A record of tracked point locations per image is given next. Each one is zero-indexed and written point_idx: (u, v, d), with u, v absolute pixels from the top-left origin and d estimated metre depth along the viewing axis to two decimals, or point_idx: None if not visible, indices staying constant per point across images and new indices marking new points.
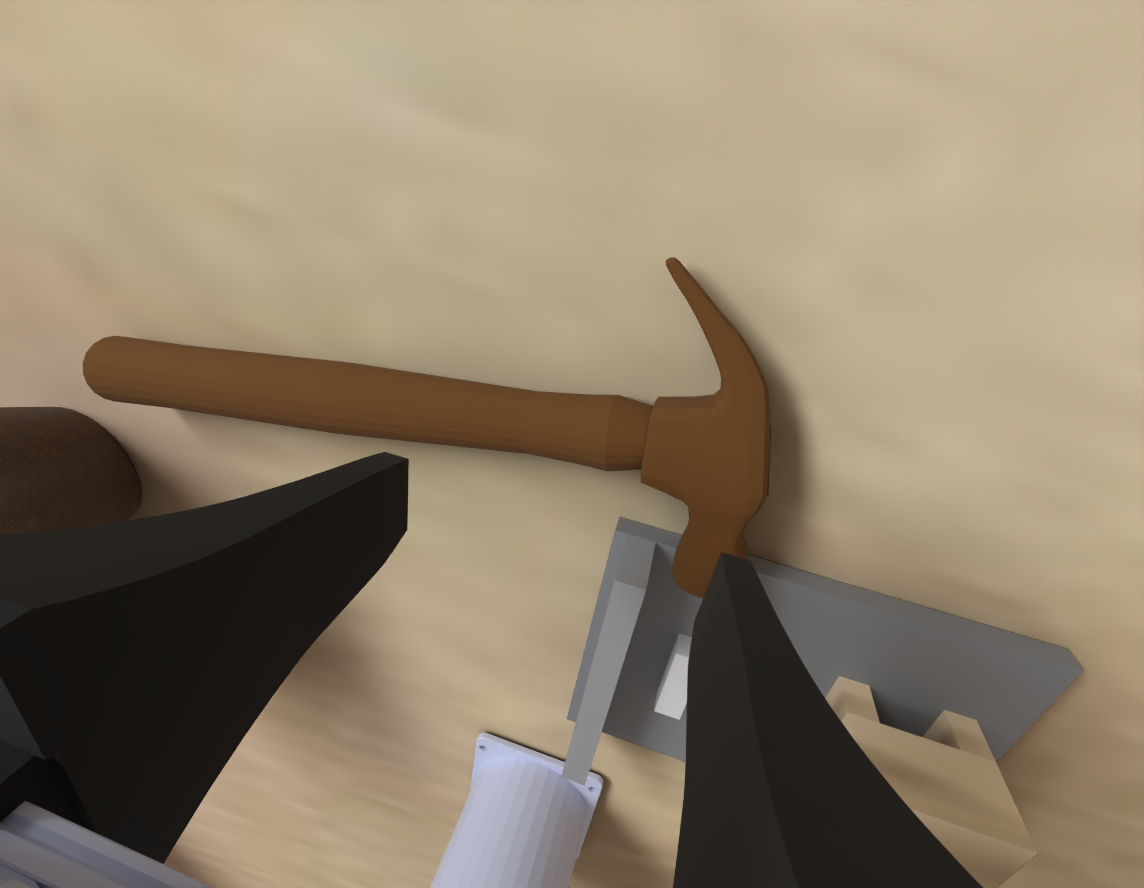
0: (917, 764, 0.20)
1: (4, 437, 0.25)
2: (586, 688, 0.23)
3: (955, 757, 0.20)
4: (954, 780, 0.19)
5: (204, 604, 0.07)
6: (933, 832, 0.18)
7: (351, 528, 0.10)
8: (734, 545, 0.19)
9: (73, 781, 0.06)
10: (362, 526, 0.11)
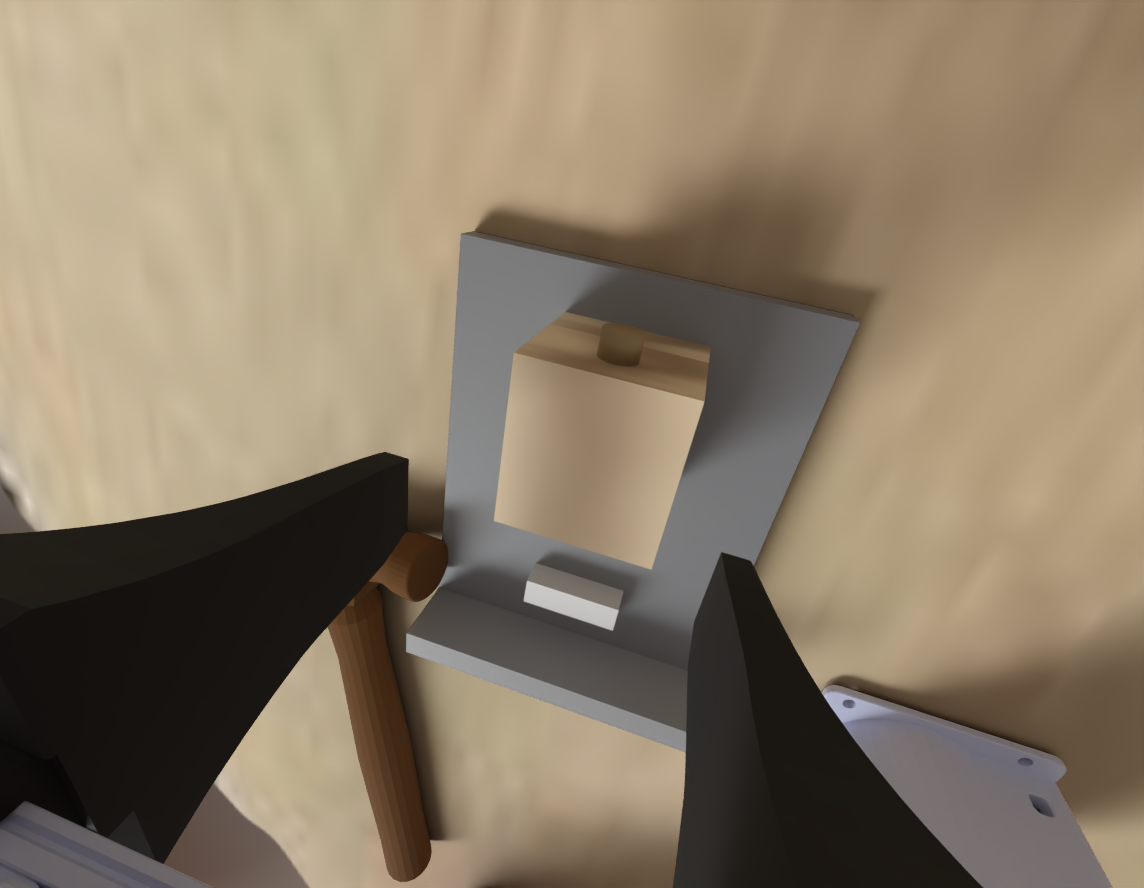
0: None
1: None
2: (538, 698, 0.23)
3: None
4: None
5: (203, 604, 0.07)
6: (526, 456, 0.15)
7: (351, 529, 0.10)
8: None
9: (73, 781, 0.06)
10: (362, 526, 0.11)
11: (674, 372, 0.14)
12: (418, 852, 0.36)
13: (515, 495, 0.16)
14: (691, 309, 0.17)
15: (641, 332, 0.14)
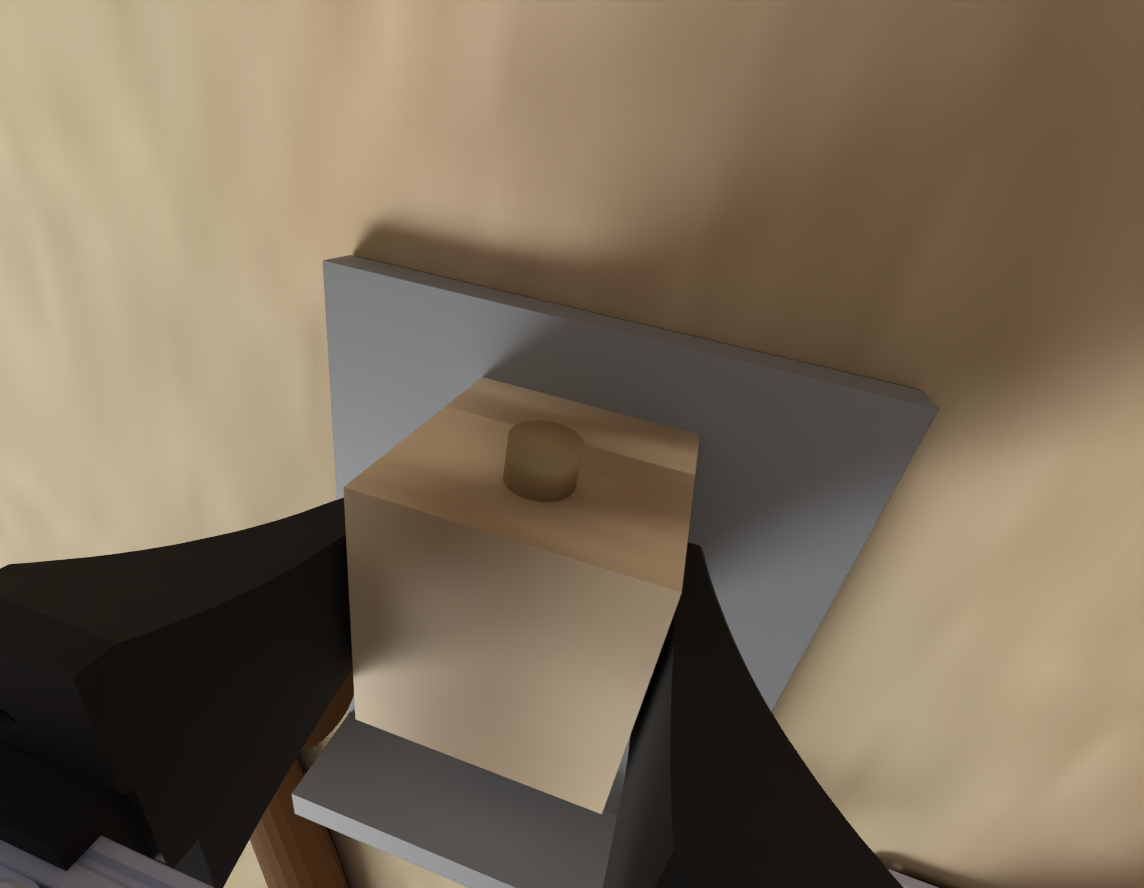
0: None
1: None
2: (468, 886, 0.17)
3: None
4: None
5: (268, 628, 0.07)
6: (389, 641, 0.09)
7: None
8: None
9: (145, 813, 0.06)
10: None
11: (634, 508, 0.08)
12: None
13: (381, 691, 0.10)
14: (669, 380, 0.11)
15: (577, 441, 0.08)
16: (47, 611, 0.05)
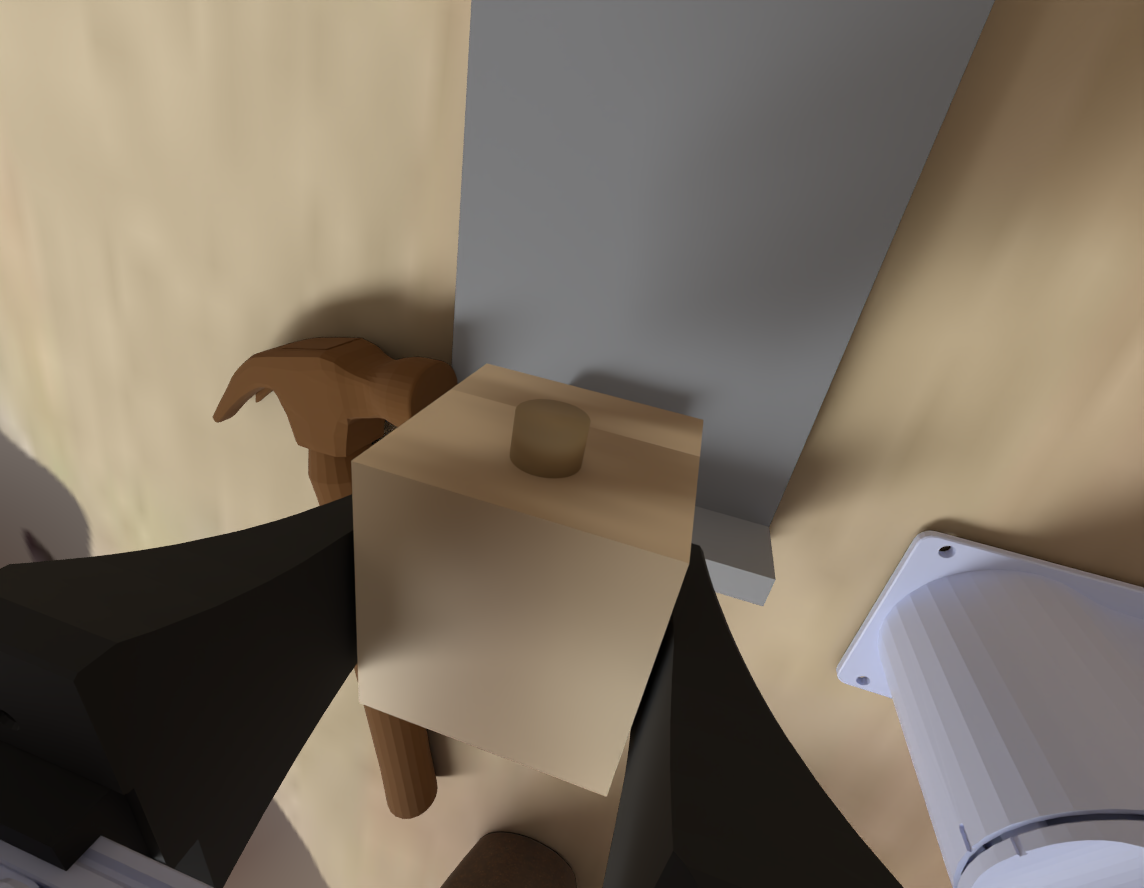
0: None
1: None
2: None
3: None
4: None
5: (267, 627, 0.07)
6: (395, 620, 0.09)
7: None
8: (367, 380, 0.19)
9: (145, 813, 0.06)
10: None
11: (640, 486, 0.08)
12: (423, 784, 0.32)
13: (385, 672, 0.10)
14: None
15: (583, 418, 0.08)
16: (47, 611, 0.05)
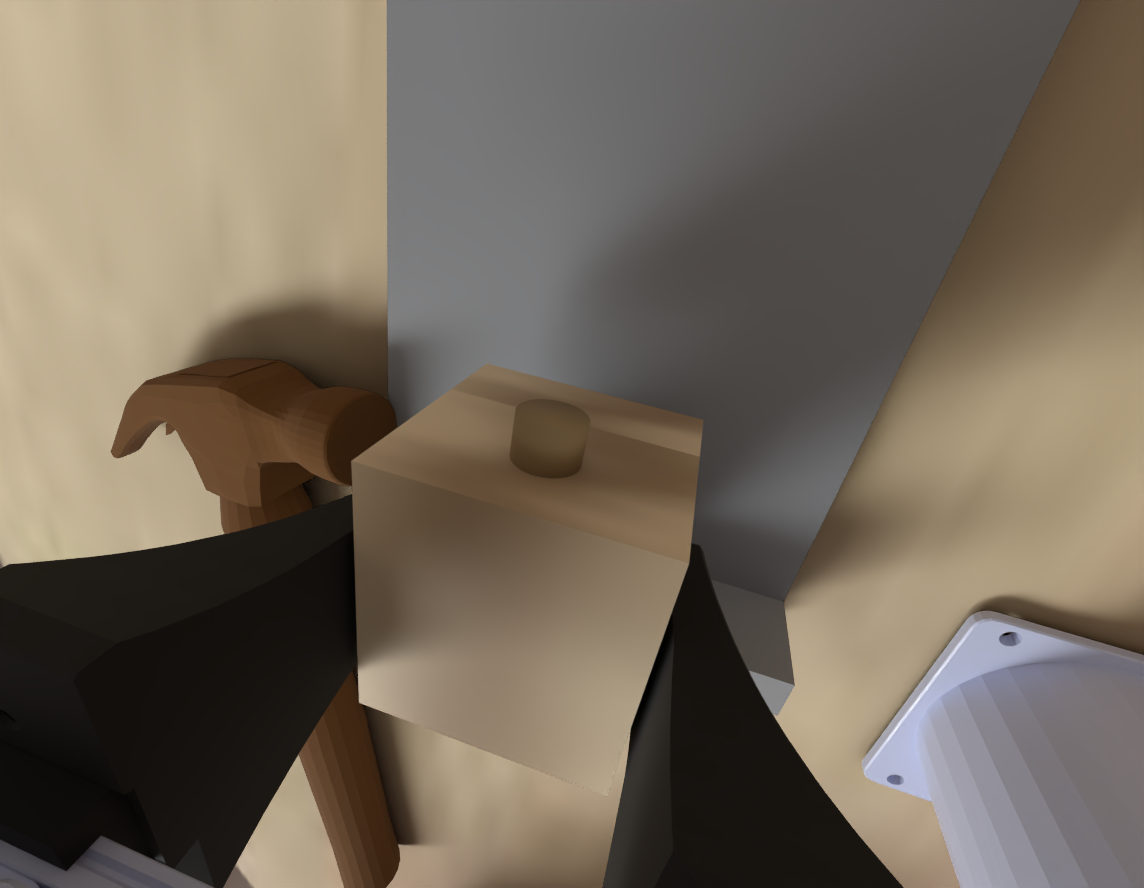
0: None
1: None
2: None
3: None
4: None
5: (268, 627, 0.07)
6: (395, 620, 0.09)
7: None
8: (276, 418, 0.15)
9: (146, 813, 0.06)
10: None
11: (640, 485, 0.08)
12: (381, 860, 0.28)
13: (386, 672, 0.10)
14: None
15: (583, 418, 0.08)
16: (47, 611, 0.05)
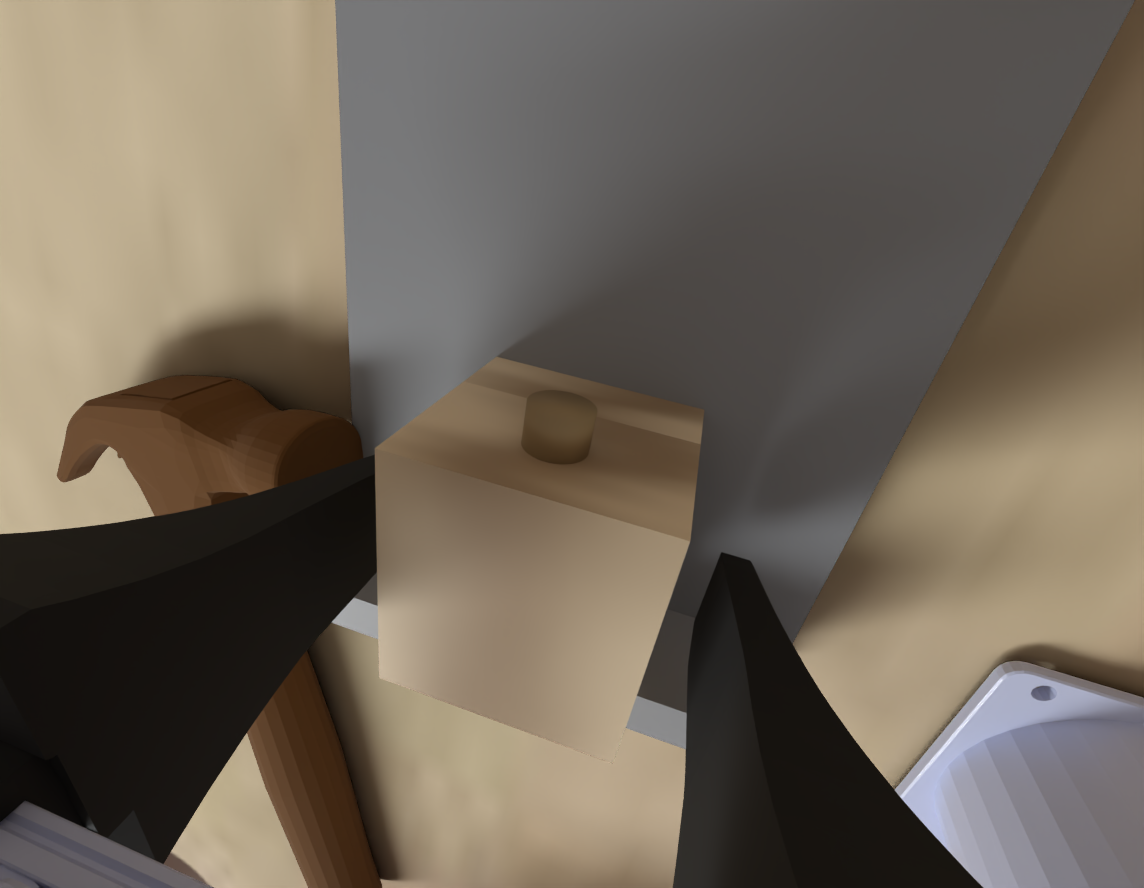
0: None
1: None
2: None
3: None
4: None
5: (204, 603, 0.07)
6: (414, 598, 0.10)
7: (351, 529, 0.10)
8: (224, 445, 0.13)
9: (73, 781, 0.06)
10: (362, 526, 0.11)
11: (644, 471, 0.09)
12: None
13: (405, 648, 0.10)
14: None
15: (590, 408, 0.09)
16: None
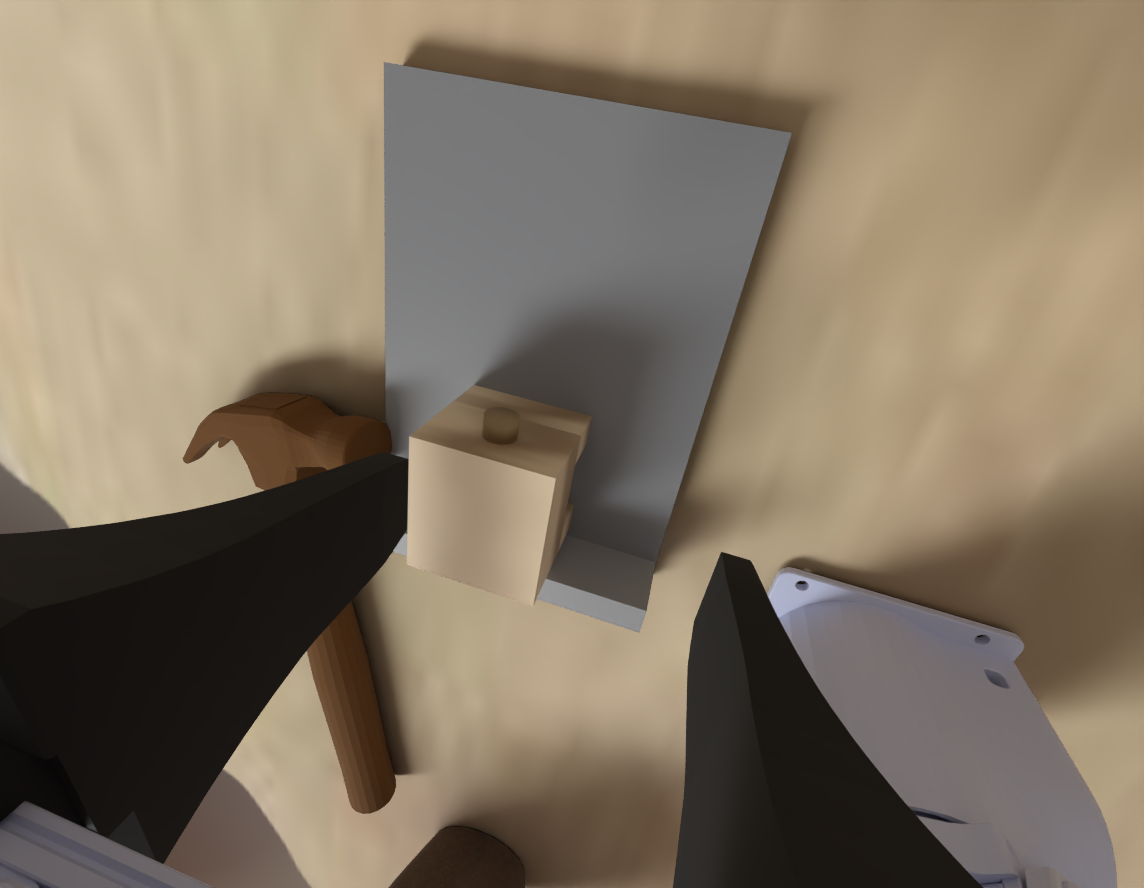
0: None
1: (392, 884, 0.36)
2: None
3: None
4: None
5: (204, 603, 0.07)
6: (427, 515, 0.18)
7: (351, 528, 0.10)
8: (310, 437, 0.22)
9: (73, 781, 0.06)
10: (362, 526, 0.11)
11: (543, 448, 0.18)
12: (380, 782, 0.36)
13: (422, 544, 0.19)
14: (620, 132, 0.16)
15: (516, 416, 0.18)
16: None
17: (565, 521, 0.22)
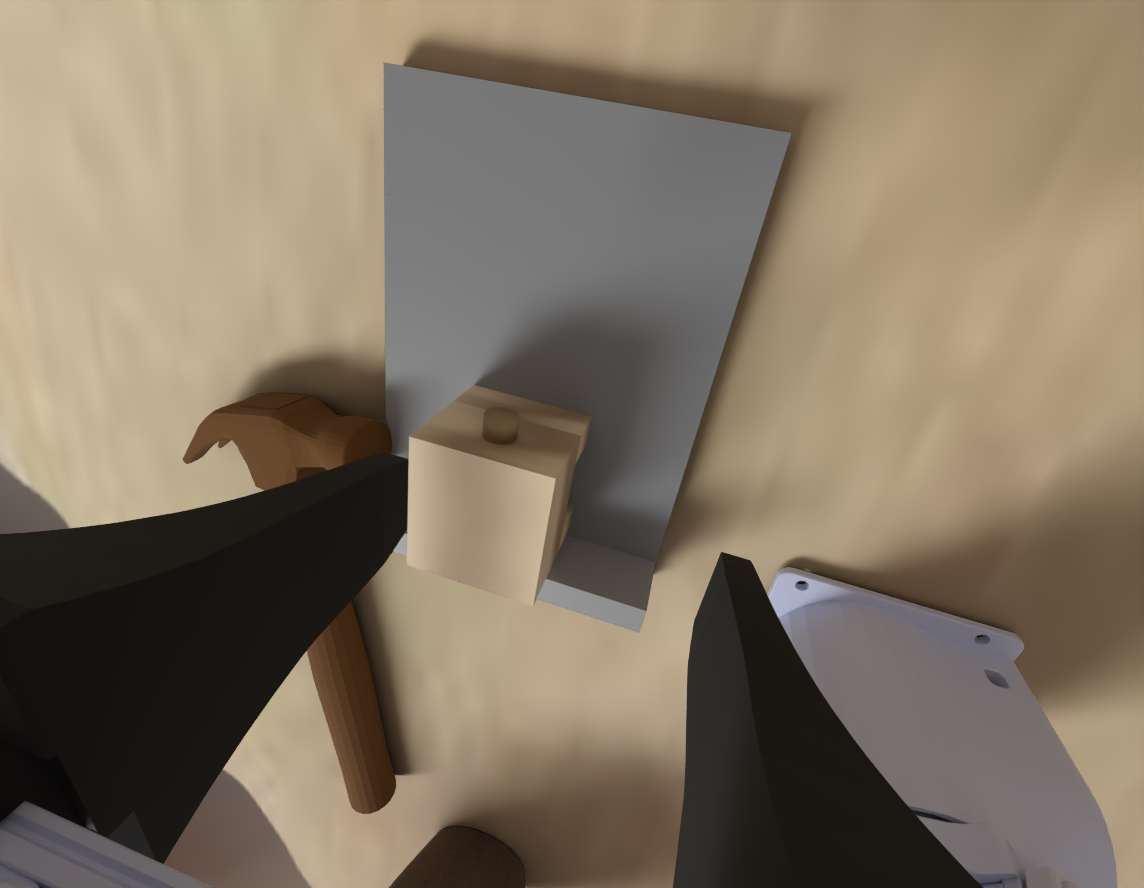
0: None
1: (392, 884, 0.36)
2: None
3: None
4: None
5: (203, 604, 0.07)
6: (427, 515, 0.18)
7: (351, 529, 0.10)
8: (310, 437, 0.22)
9: (73, 781, 0.06)
10: (362, 526, 0.11)
11: (543, 448, 0.18)
12: (380, 782, 0.36)
13: (422, 545, 0.19)
14: (620, 132, 0.16)
15: (516, 416, 0.18)
16: None
17: (565, 521, 0.22)
